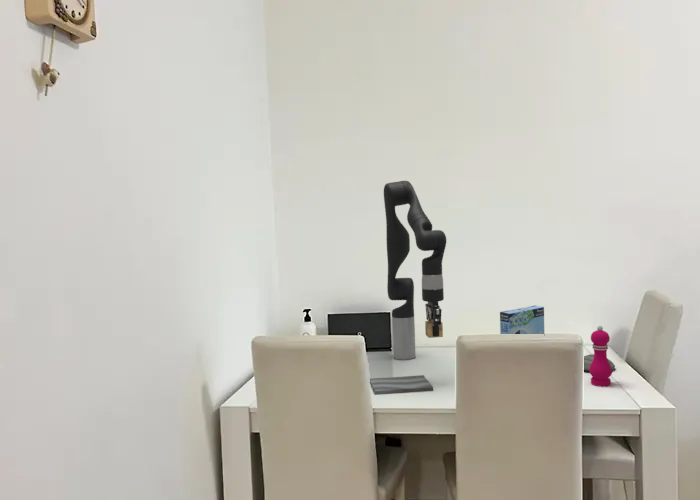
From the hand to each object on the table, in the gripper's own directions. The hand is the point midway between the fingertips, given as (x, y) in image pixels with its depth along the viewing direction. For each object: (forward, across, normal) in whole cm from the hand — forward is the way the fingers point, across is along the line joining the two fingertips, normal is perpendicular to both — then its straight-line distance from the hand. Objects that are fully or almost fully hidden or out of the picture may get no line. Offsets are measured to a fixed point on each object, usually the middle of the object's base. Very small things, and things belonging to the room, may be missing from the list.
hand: (434, 334), depth 232 cm
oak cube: (0, 0, 0) cm, 0 cm away
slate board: (+17, +1, -13) cm, 22 cm away
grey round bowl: (+18, -4, +61) cm, 64 cm away
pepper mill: (+17, +16, +54) cm, 59 cm away
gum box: (+18, -10, +36) cm, 42 cm away
